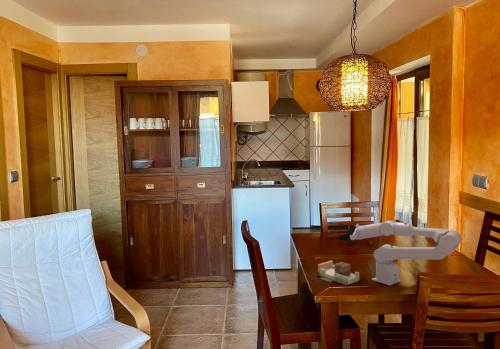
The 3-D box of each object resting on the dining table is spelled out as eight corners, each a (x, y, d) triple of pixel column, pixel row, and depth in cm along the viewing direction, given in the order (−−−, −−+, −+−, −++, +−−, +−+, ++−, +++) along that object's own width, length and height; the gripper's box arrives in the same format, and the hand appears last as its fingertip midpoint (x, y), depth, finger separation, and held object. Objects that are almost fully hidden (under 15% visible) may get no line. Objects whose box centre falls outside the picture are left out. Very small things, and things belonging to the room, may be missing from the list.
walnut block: (350, 275, 177) (350, 264, 176) (343, 277, 174) (343, 266, 174) (341, 272, 181) (341, 261, 181) (334, 274, 178) (334, 264, 178)
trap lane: (359, 280, 175) (359, 269, 175) (346, 285, 170) (346, 273, 170) (331, 270, 189) (331, 260, 189) (318, 275, 184) (317, 264, 183)
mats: (360, 277, 179) (360, 276, 179) (338, 285, 170) (338, 284, 170) (341, 271, 188) (341, 271, 188) (319, 278, 179) (319, 278, 179)
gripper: (372, 218, 183) (346, 223, 192) (360, 227, 172) (333, 232, 180) (376, 232, 183) (351, 237, 191) (365, 242, 172) (338, 246, 180)
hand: (342, 235), depth 186 cm, fingers open, 7 cm apart
